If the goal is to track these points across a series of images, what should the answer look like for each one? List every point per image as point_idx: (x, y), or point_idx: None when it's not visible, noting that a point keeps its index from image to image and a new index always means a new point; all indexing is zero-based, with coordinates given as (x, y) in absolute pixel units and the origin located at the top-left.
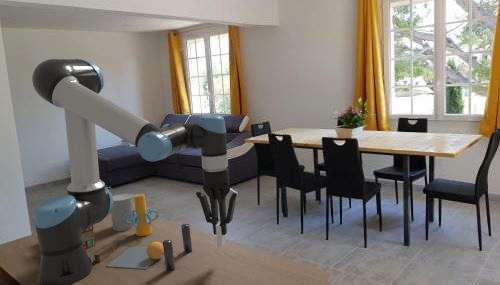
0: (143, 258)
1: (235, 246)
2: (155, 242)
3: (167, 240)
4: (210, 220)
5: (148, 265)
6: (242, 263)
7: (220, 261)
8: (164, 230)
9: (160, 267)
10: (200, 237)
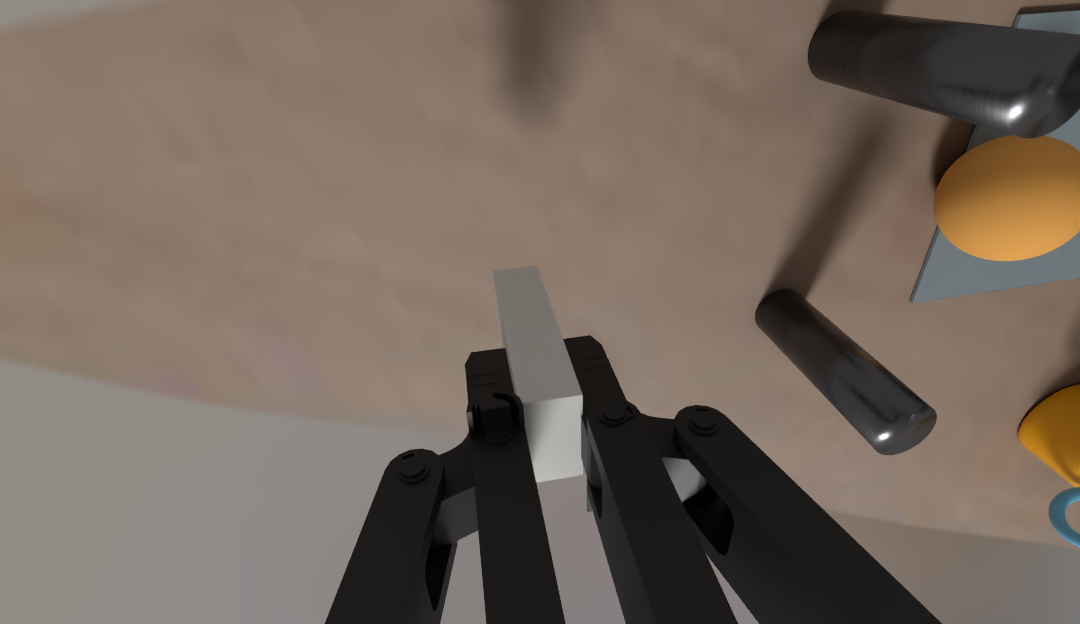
0: None
1: None
2: (1063, 226)
3: (1050, 115)
4: (674, 440)
5: None
6: (348, 254)
7: (520, 243)
8: (954, 463)
9: None
10: None
